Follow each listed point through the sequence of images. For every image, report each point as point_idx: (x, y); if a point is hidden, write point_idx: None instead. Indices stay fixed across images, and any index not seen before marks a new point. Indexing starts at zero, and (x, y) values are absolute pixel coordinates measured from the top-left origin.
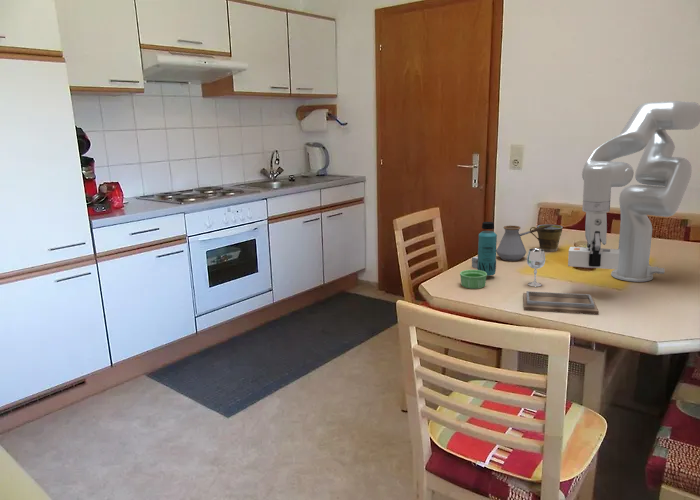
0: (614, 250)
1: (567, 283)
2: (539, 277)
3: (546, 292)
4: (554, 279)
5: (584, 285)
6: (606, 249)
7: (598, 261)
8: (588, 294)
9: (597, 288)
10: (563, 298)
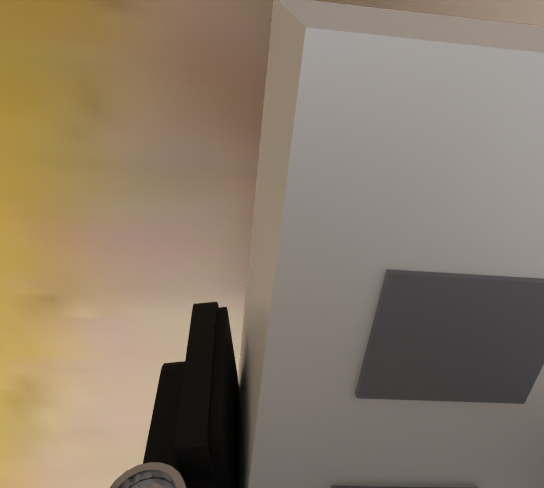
0: (455, 176)
1: (113, 318)
2: (49, 451)
3: None
4: (53, 384)
5: (117, 218)
6: (380, 341)
7: None
8: None
9: (163, 130)
10: None
